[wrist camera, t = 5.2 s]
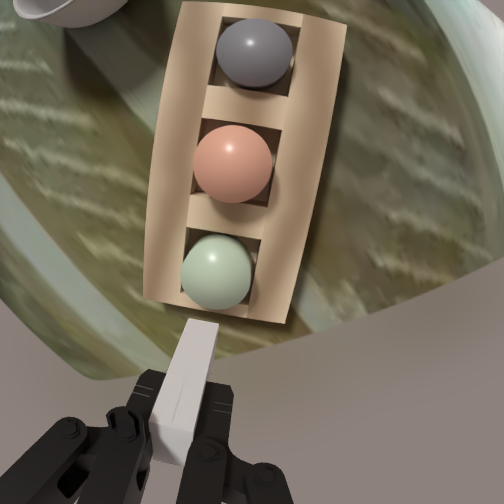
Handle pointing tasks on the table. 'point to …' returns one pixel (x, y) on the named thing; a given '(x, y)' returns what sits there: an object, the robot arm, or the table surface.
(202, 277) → the sage button
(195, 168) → the terracotta button
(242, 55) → the charcoal button
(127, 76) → the table surface
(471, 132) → the table surface
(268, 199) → the button panel
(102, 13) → the teacup
